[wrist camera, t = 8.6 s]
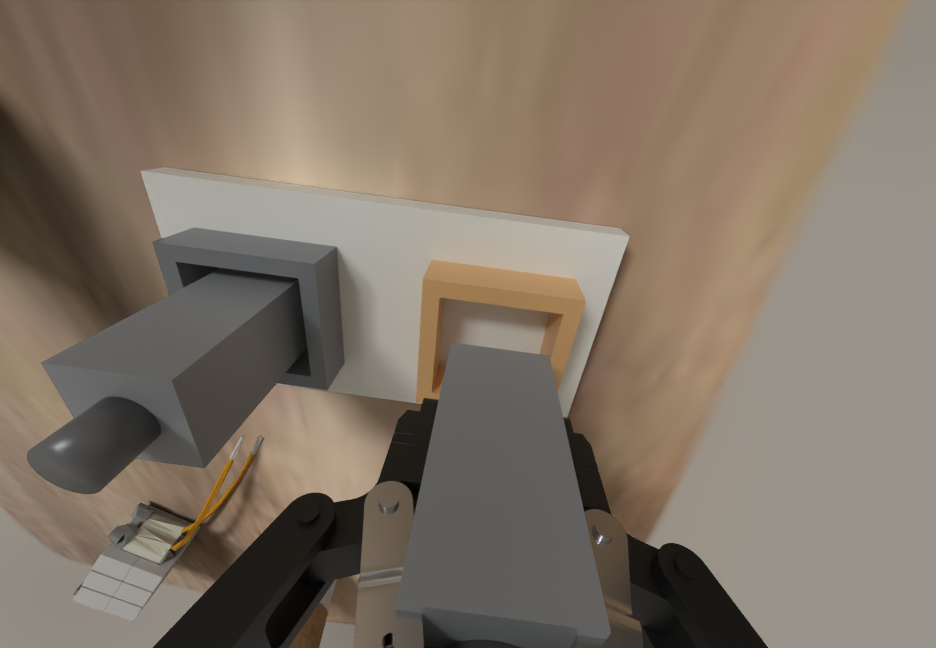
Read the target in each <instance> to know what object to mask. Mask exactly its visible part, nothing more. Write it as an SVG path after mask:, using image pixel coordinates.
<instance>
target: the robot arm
mask: <svg viewBox="0 0 936 648" xmlns="http://www.w3.org/2000/svg"><path fill="white" fill-rule="evenodd" d="M438 401H439V400H437V399H429V398H424V399H423V402H422V406H421V410H420V412H419V411H412V410H407V411H406V412H405V413H404V414H403V415H402V416H401V417H400V418H399V420H398V423H397V426H396V429H395V433H394V435H393V438H392V442H391V444H390V447H389V450H388V453H387V456H386V459H385V462H384V465H383V468H382V471H381V474H380V477H379V480H378V482H377V483H376V485H375V486H374V487H373V488H372V489H371V490H370V491H369V492H368V493H366V494H365V495H363V496H361V497H359V498H356V499H351V500H346V501H340V502H333V500H332V499H331V498H330V497H329V496H327V495H325V494H322V493H309V494H305V495H303V496H301V497H299V498H297V499H296V500H294V501H293V502H292V503H291V504H290V505H289V506H288V507H287V508H286V509H285V510H284V511H283V512H282V513H281V514H280V515H279V516H278V517H277V518H276V519H275V520H274V521H273V522H272V523H271V524H270V525H269V527H268V528H267V529H266V530H265V531H264V532H263V533H262V534H261V535H260V536H259V537H258V538H257V539H256V540H255V541H254V542H253V543H252V544H251V545H250V546H249V547H248V548H247V550H246V551H245V552H244V553H243V554H242V555H241V556H240V557H239V558H238V559H237V560H236V561H235V562H234V563H233V564H232V565H231V566H230V567H229V568H228V569H227V570H226V571H225V573H224V574H223V575H222V576H221V577H220V578H219V579H218V580H217V581H216V582H215V583H214V584H213V585H212V586H211V587H210V588H209V589H208V590H207V591H206V592H205V593H204V594H203V596H202V597H201V598H200V599H199V600H198V601H197V602H196V603H195V604H194V605H193V606H192V607H191V608H190V609H189V610H188V611H187V612H186V613H185V614H184V615H183V616H182V618H181V619H180V620H179V621H178V622H177V623H176V624H175V625H174V626H173V627H172V628H171V629H170V630H169V631H168V632H167V633H166V634H165V635H164V636H163V637H162V638H161V639H160V640H159V642H158V643H157V644H156V645H155V646H154V647H153V648H289V646H290V645H291V643H292V642H293V640H294V639H295V637H296V636H297V635H298V633H299V632H300V630H301V629H302V627H303V626H304V624H305V623H306V621H307V620H308V619H309V617H310V616H311V614H312V613H313V611H314V610H315V608H316V607H317V605H318V604H319V603H320V601H321V600H322V598H323V597H324V595H325V594H326V592H327V591H328V589H329V588H330V587H331V585H332V584H333V582H334V581H335V579H339V578H344V577H348V576H352V575H356V574H360V578H359V581H358V590H357V604H356V620H355V636H354V648H434V647H427V646H424V640H423V624H422V613H417V612H410V611H403V610H396V600H397V595H398V590H399V586H400V581H401V576H402V571H403V567H404V562H405V557H406V552H407V548H408V543H409V538H410V534H411V529H412V524H413V519H414V515H415V510H416V505H417V500H418V496H419V491H420V486H421V481H422V477H423V472H424V467H425V463H426V458H427V453H428V448H429V444H430V439H431V434H432V429H433V425H434V420H435V415H436V411H437V406H438ZM563 419H564V424H565V428H566V433H567V437H568V442H569V446H570V451H571V455H572V460H573V464H574V469H575V473H576V477H577V482H578V486H579V491H580V495H581V500H582V504H583V509H584V513H585V518H586V522H587V527H588V531H589V536H590V540H591V545H592V549H593V554H594V558H595V562H596V567H597V571H598V576H599V580H600V585H601V589H602V594H603V598H604V603H605V607H606V612H607V616H608V621H609V625H610V630H611V634H610V635H609V636H608V638H607V639H602V638H595V637H588V636H581V635H577V637H576V638H575V640H574V641H573V643H572V645H571V646H570V648H768V647H767V646H766V644H765V643H764V642H763V640H762V639H761V638H760V636H759V635H758V634H757V633H756V631H755V630H754V629H753V627H752V626H751V624H750V623H749V622H748V621H747V619H746V618H745V617H744V615H743V614H742V613H741V611H740V610H739V609H738V607H737V606H736V605H735V603H734V602H733V601H732V599H731V598H730V597H729V595H728V594H727V593H726V591H725V590H724V589H723V587H722V586H721V585H720V583H719V582H718V581H717V580H716V578H715V577H714V575H713V574H712V573H711V572H710V570H709V569H708V567H707V566H706V565H705V564H704V562H703V561H702V560H701V559H700V558H699V557H698V556H697V555H696V554H695V553H694V552H692V551H691V550H689V549H688V548H686V547H684V546H681V545H679V544H675V543H668V544H665V545H663V546H662V547H661V548H660V549H657V548H655V547H652V546H650V545H648V544H646V543H644V542H641V541H639V540H637V539H635V538H633V537H632V536H630V535H629V534H627V533H626V532H625V530H624V528H623V526H622V525H621V524H620V522H619V521H618V520H617V519H616V518H615V517H613V516H612V515H611V512H610V509H609V505H608V502H607V498H606V495H605V492H604V488H603V485H602V481H601V478H600V474H599V472H598V468H597V464H596V461H595V457H594V454H593V450H592V447H591V445H590V444H589V442H588V441H587V440H586V438H585V437H584V436H583V434H577V433H573V429H572V425H571V421H570V419H569V418H566V417H563Z"/></svg>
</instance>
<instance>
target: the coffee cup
mask: <svg viewBox="0 0 936 648" xmlns="http://www.w3.org/2000/svg"><path fill="white" fill-rule="evenodd" d="M336 582H337V579H335V581H334V582H333V584H332V585H331V587H330V588H329V589H328V591H327V592H326V594H325V595H324V597H323V598H322V600H321V601H320V603H319V604H318V605H317V607H316V608H315V610H314V611H313V613H312V614H311V616H310V617H309V619H308V620H307V621H306V623H305V624H304V626H303V627H302V629H301V630H300V632H299V633H298V635H297V636H296V637H295V639H294V640H293V642H292V643H291V645H290V646H289V648H319V645H320V642H321V638H322V634H323V630H324V626H325V623H326V619H327V615H328V610H329V606H330V603H331V599H332V596H333V592H334V589H335V585H336Z"/></svg>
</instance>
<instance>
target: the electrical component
mask: <svg viewBox="0 0 936 648" xmlns="http://www.w3.org/2000/svg"><path fill="white" fill-rule="evenodd" d="M244 438H245V436H241V438H240V440H239V442H238V444H237V445H236V447H235V449H234V451H233V453H232V455H231V456H230V458H229V460H228V462H227V464H226V465H225V467H224V469H223V471H222V473H221V475H220V477H219V479H218V481H217V483H216V484H215V486H214V488H213V490H212V492H211V494H210V496H209V498H208V500H207V502H206V503H205V505H204V507H203V509H202V511H201V513H200V515H199V517H198V518H197V520H196V521H195V523H190V522H188V521H185V520H183V519H181V518H178V517H176V516H174V515H171V514H169V513H167V512H164V511H162V510H160V509H157V508H155V507H152V506H150V505H145V504H143V503H140V504H139V505H138V506H137V507H136V509H135V510H134V512H133V513H132V514H131V516H132V517H133V518H134V519H133V520H132V522H131V523H130V524H127V525H122V526H118V527H116V528H115V529H114V530H113V531H112V532H111V533H110V534H109V535H108V539H110V540H111V541H112V543H111V544H110V545H109V546H108V547H107V548H106V549H105V550H104V551H103V552H102V553H101V554H100V556H99V558H98V559H97V561H96V563H95V564H94V566H93V568H92V570H91V571H90V573H89V575H88V576H87V578H86V580H85V581H84V582H83V583H82V584H81V585H80V586H79V587H78V588H77V590H76V591H75V593H74V595H76V596H75V598H74V600H73V601H75V602H77V603H80V604H83V605H86V606H89V607H92V608H95V609H98V610H101V611H104V612H106V613H110V614H112V615H115V616H118V617H121V618H124V619H128V620H130V621H134V620H135V618H136V617H137V615H138V614H139V613H140V611H141V610H142V609H143V607H144V606H145V605H146V603H147V602H148V600H149V599H150V597H151V596H152V595H153V594H154V592H155V591H156V590H157V588H158V587H159V586H160V584H161V583H162V581H163V580H164V579H165V577H166V576H167V575H168V573H169V572H170V571H171V569H172V568H173V566H174V565H175V564H176V562H177V561H178V559H179V558H180V557H181V555H182V553H183V552H184V551H185V549H186V548H187V546H188V545H189V544H190V542H191V541H192V539H193V538H194V536H195V535H196V533H197V532H198V530H199V529H200V528H201V527H200V526H199V525H200V523H202V522H203V521H204V520H205V519H207V518H208V517H209V516H211V515H212V514H213V513H214V512H216V510H217V509H218V508H219V507H220V506H221V504H222V503H223V502H224V501H225V499H226V498H227V497H228V496H229V494H230V493H231V492H232V491H233V489H234V488H235V487H236V486H237V484H238V483H239V482H240V480H241V478H242V477H243V475H244V473H245V471H246V470H247V468H248V466H249V465H250V463H251V461H252V459H253V458H254V456H255V453H256V451H257V449H258V447H259V445H260V443H261V441H262V439H263V438H264V437H262V436H260V438H259V440H258V442H257V444H256V446H255V448H254V449H253V451H252V454H253V455H252V454H251V453H250V455H249V457H248V459H247V461H246V463H245V465H244V467H243V469H242V471H241V473H240V475H239V477H240V478H239V477H238V479H239V480H238V479H237V480H236V481H235V482H234V483H233V484H232V485H231V487H230V488H229V489H228V490H227V492H226V493H225V494H224V495H223V496H222V498H221V499H220V500H219V501H218V502H217V503H216V504H215V505H214V506H213V507H212V508H211V509H210V507H211V505H212V503H213V501H214V499H215V497H216V495H217V493H218V491H219V489H220V487H221V485H222V483H223V481H224V479H225V477H226V475H227V473H228V471H229V469H230V467H231V465H232V463H233V461H234V459H235V456H236V454H237V452H238V450H239V448H240V446H241V444H242V442H243V440H244ZM249 460H250V461H249ZM245 467H246V468H245ZM242 472H243V473H242ZM236 482H237V483H236ZM235 483H236V484H235ZM234 485H235V486H234ZM233 486H234V487H233ZM232 487H233V488H232ZM209 509H210V510H209Z"/></svg>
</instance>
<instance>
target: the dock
mask: <svg viewBox="0 0 936 648" xmlns="http://www.w3.org/2000/svg"><path fill="white" fill-rule="evenodd" d="M141 174H142V178H143V181H144V184H145V187H146V190H147V193H148V197H149V200H150V203H151V206H152V209H153V212H154V216H155V219H156V222H157V225H158V228H159V232H160V235H161V238H162V239H159V240H156V241H153V242H152V243H153V246H154V249H155V252H156V255H157V258H158V261H159V264H160V267H161V270H162V273H163V276H164V279H165V282H166V285H167V288H168V291H169V294H170V295H169V296H167V297H165V298H163V299H161V300H159V301H158V302H156V303H154V304H152V305H150V306H148V307H146V308H144V309H142V310H140V311H138V312H137V313H135V314H133V315H131V316H129V317H127V318H125V319H123V320H121V321H119V322H118V323H116V324H114V325H112V326H110V327H108V328H106V329H104V330H102V331H100V332H99V333H97V334H95V335H93V336H91V337H89V338H87V339H85V340H83V341H81V342H80V343H78V344H76V345H74V346H72V347H70V348H68V349H66V350H64V351H62V352H60V353H59V354H57V355H55V356H53V357H51V358H49V359H47V360H45V361H43V362H41V363H42V365H43V367H44V369H45V370H46V372H47V374H48V375H49V377H50V379H51V380H52V382H53V384H54V385H55V387H56V389H57V391H58V392H59V394H60V396H61V397H62V399H63V401H64V402H65V404H66V406H67V408H68V409H69V411H70V413H71V414H72V416H73V418H74V419H73V420H71V421H70V422H69V423H67V424H66V425H64V426H63V427H61V428H60V429H59V430H57V431H56V432H54V433H53V434H51V435H50V436H49V437H47V438H46V439H44V440H43V441H41V442H40V443H39V444H37V445H36V446H34V447H33V448H31V449H30V450H29V451H28V453H27V460H28V462H29V464H30V465H31V467H32V468H33V469H34V470H35V471H36V472H37V473H38V474H39V475H40V476H41V477H43V478H44V479H46V480H47V481H49V482H51V483H52V484H54V485H56V486H58V487H61V488H63V489H66V490H68V491H72V492H76V493H81V494H93V493H97V492H99V491H101V490H102V489H103V488H104V487H105V486H106V485H107V484H108V483H109V482H110V481H112V480H113V479H114V478H115V477H116V476H117V475H118V474H119V473H120V472H121V471H122V470H123V469H124V468H126V467H127V466H128V465H129V464H130V463H131V462H132V461H133V460H134V459H142V460H149V461H156V462H163V463H170V464H178V465H185V466H192V467H199V468H205V467H206V466H207V465H208V464H209V462H210V461H211V460H212V459H213V458H214V457H215V455H216V454H217V453H218V452H219V451H220V449H221V448H222V447H223V446H224V445H225V444H226V442H227V441H228V440H229V439H230V438H231V436H232V435H233V434H234V433H235V432H236V431H237V429H238V428H239V427H240V426H241V425H242V423H243V422H244V421H245V420H246V419H247V418H248V416H249V415H250V414H251V413H252V412H253V410H254V409H255V408H256V407H257V406H258V405H259V403H260V402H261V401H262V400H263V399H264V398H265V396H266V395H267V394H268V393H269V392H270V390H271V389H272V388H273V387H274V386H275V385H276V384H278V385H286V386H293V387H300V388H308V389H315V390H322V391H330V392H337V393H344V394H351V395H359V396H366V397H373V398H381V399H388V400H395V401H403V402H410V403H417V404H422V402H423V399H424V398H429V399H437V400H439V396H440V392H441V387H442V382H443V377H444V373H445V368H446V363H447V359H448V354H449V349H450V344H451V342H453V343H460V344H467V345H475V346H482V347H489V348H497V349H504V350H512V351H519V352H526V353H534V354H541V355H548V356H549V357H550V361H551V366H552V370H553V375H554V379H555V384H556V388H557V392H558V397H559V401H560V406H561V410H562V415H563V417H566V418H567V417H568V414H569V411H570V408H571V405H572V402H573V399H574V396H575V393H576V390H577V388H578V385H579V382H580V379H581V376H582V373H583V370H584V367H585V364H586V361H587V359H588V356H589V353H590V350H591V347H592V344H593V341H594V338H595V335H596V332H597V330H598V327H599V324H600V321H601V318H602V315H603V312H604V309H605V306H606V303H607V300H608V298H609V295H610V292H611V289H612V286H613V283H614V280H615V277H616V274H617V271H618V269H619V266H620V263H621V260H622V257H623V254H624V251H625V248H626V245H627V242H628V240H629V236H628V235H627V234H626V233H625V232H624V231H622V230H621V229H620V228H614V227H606V226H599V225H591V224H584V223H576V222H569V221H561V220H554V219H547V218H539V217H532V216H524V215H517V214H509V213H502V212H494V211H487V210H480V209H472V208H465V207H457V206H450V205H442V204H435V203H427V202H420V201H413V200H405V199H398V198H390V197H383V196H375V195H368V194H360V193H353V192H346V191H338V190H331V189H323V188H316V187H308V186H301V185H294V184H286V183H279V182H271V181H264V180H256V179H249V178H241V177H234V176H227V175H219V174H212V173H204V172H197V171H189V170H182V169H174V168H167V167H165V168H158V169H151V170H143V171H141Z"/></svg>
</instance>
